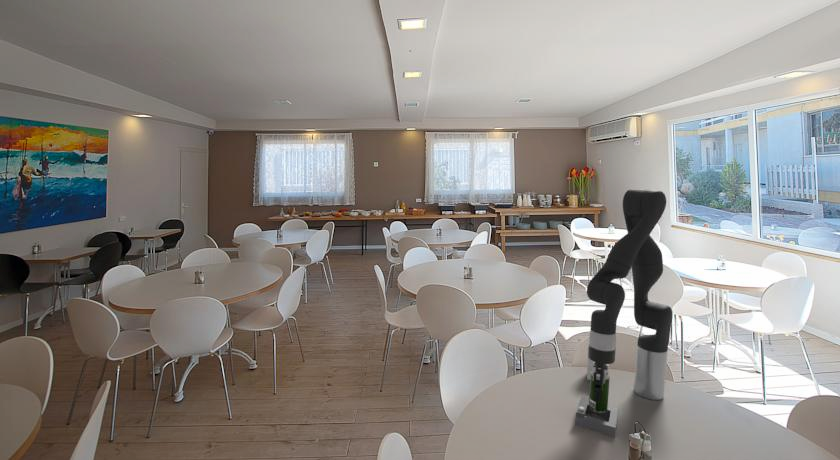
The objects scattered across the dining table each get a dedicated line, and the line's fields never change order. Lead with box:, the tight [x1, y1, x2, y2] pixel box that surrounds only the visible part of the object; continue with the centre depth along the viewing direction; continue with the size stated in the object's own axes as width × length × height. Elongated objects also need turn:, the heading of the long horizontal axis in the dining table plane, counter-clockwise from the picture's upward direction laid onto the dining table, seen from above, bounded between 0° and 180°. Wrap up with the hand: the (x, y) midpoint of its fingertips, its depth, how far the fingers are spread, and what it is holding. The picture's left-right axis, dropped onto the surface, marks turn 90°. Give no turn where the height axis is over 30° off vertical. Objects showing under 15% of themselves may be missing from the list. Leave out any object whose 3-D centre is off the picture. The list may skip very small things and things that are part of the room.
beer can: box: [588, 369, 611, 413], centre depth 121 cm, size 5×5×12 cm
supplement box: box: [586, 346, 610, 381], centre depth 150 cm, size 7×7×13 cm
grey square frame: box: [575, 395, 619, 438], centre depth 122 cm, size 11×11×5 cm
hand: (598, 396), depth 121 cm, fingers closed on beer can, 5 cm apart
